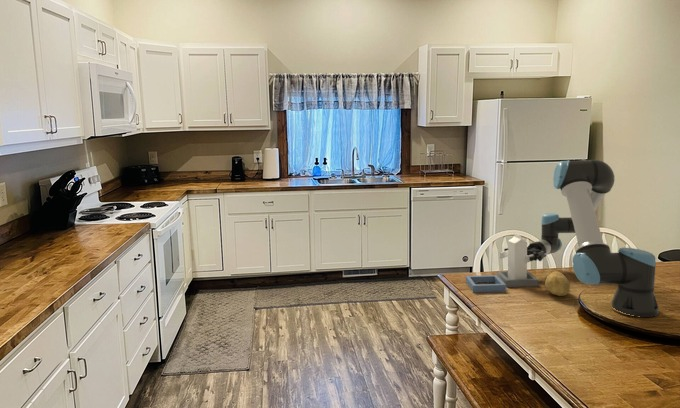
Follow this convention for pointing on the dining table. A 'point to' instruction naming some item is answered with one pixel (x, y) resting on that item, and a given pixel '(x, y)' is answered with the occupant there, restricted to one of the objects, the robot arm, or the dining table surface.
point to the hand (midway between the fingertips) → (512, 257)
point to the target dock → (496, 287)
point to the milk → (517, 258)
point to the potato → (557, 284)
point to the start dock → (517, 280)
